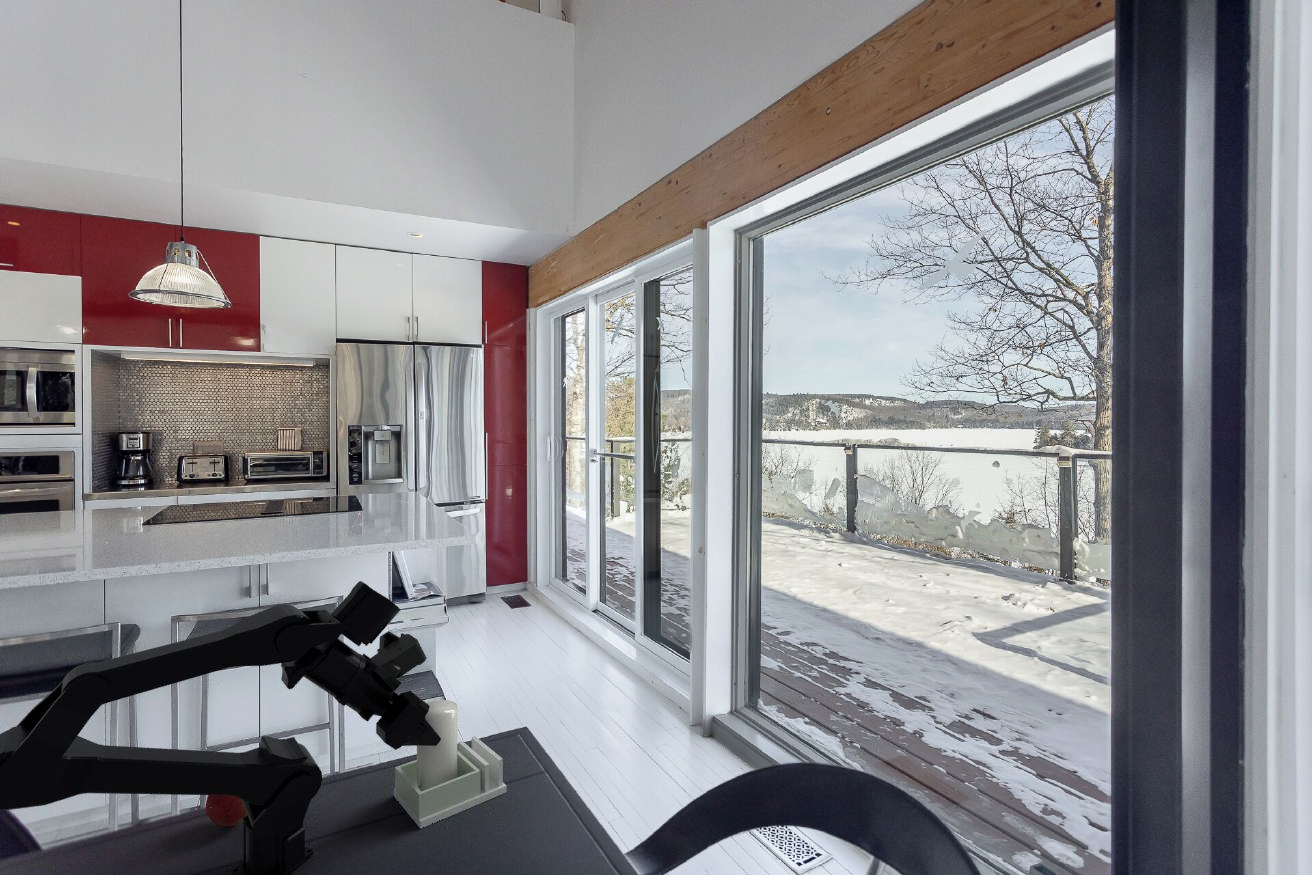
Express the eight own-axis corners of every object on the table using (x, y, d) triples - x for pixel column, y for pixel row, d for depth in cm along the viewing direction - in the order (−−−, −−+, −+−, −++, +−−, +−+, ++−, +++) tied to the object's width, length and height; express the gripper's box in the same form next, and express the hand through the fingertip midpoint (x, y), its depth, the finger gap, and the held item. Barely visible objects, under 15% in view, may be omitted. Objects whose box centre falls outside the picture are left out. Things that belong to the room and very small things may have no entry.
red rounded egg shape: (231, 842, 83) (231, 782, 83) (194, 836, 84) (194, 776, 84) (267, 815, 89) (266, 759, 89) (232, 810, 90) (231, 754, 90)
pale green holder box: (420, 828, 86) (420, 792, 86) (393, 795, 94) (393, 762, 94) (506, 792, 95) (506, 759, 95) (475, 764, 103) (476, 734, 102)
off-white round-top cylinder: (412, 805, 90) (412, 718, 90) (422, 782, 96) (422, 700, 95) (452, 802, 91) (452, 716, 90) (460, 780, 96) (460, 699, 96)
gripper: (414, 639, 81) (492, 701, 88) (366, 606, 95) (437, 662, 102) (347, 719, 76) (437, 777, 83) (307, 672, 90) (386, 725, 97)
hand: (425, 729), depth 92 cm, fingers open, 9 cm apart
